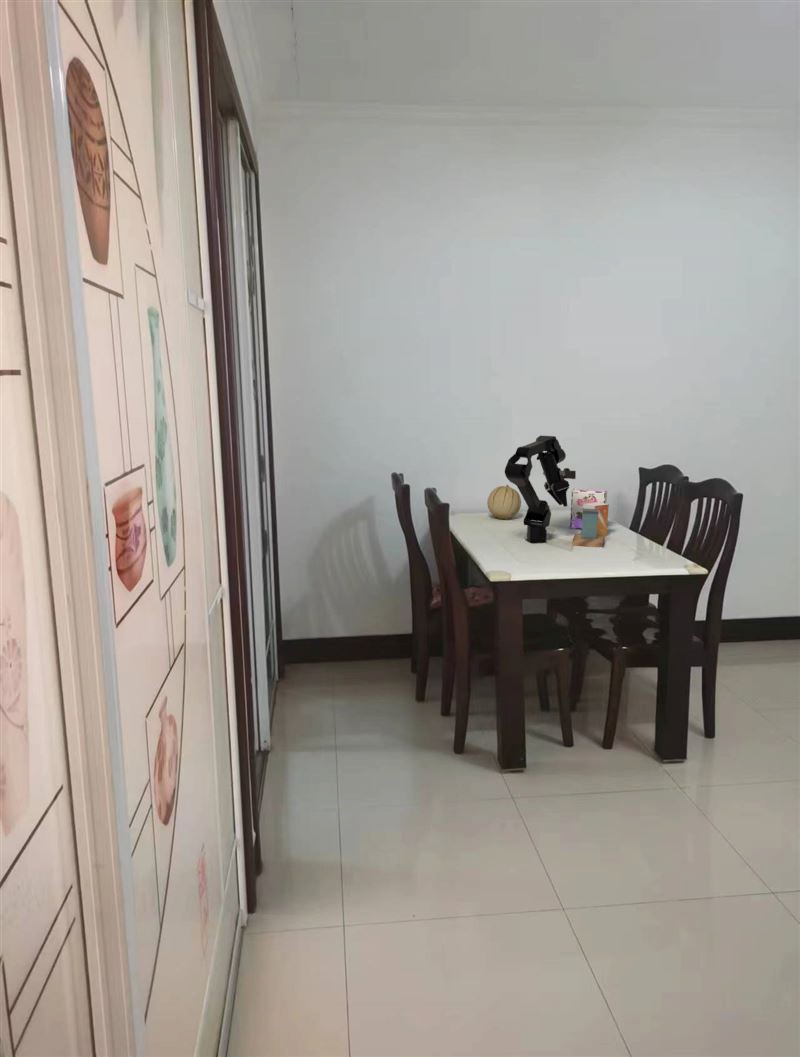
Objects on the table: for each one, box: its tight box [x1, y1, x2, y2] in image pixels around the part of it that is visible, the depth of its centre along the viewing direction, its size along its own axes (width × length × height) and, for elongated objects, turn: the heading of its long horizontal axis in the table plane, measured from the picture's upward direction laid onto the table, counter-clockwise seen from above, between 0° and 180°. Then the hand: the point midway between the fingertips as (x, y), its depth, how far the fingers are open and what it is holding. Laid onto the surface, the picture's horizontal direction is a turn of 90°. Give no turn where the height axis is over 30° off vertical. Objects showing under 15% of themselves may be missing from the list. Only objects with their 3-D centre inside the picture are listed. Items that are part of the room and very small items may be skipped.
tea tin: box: [580, 508, 599, 539], centre depth 301 cm, size 6×6×10 cm
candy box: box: [569, 487, 608, 530], centre depth 329 cm, size 14×6×16 cm, turn 68°
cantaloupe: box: [487, 484, 522, 520], centre depth 351 cm, size 15×15×15 cm
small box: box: [583, 502, 609, 537], centre depth 315 cm, size 8×6×13 cm
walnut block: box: [572, 533, 605, 548], centre depth 302 cm, size 11×11×3 cm
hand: (563, 505), depth 307 cm, fingers open, 9 cm apart
